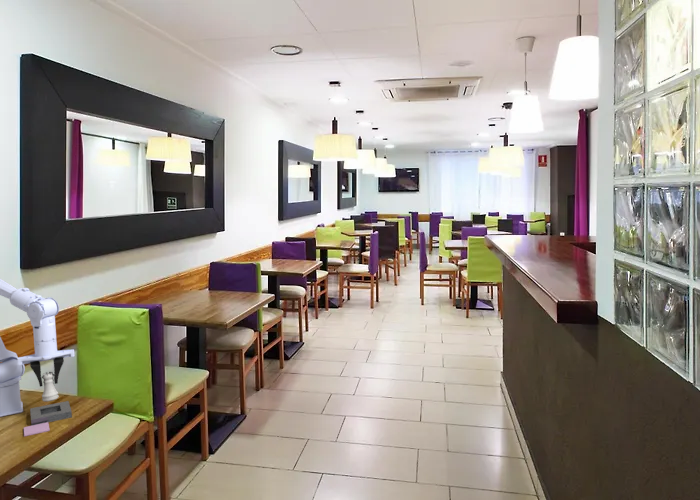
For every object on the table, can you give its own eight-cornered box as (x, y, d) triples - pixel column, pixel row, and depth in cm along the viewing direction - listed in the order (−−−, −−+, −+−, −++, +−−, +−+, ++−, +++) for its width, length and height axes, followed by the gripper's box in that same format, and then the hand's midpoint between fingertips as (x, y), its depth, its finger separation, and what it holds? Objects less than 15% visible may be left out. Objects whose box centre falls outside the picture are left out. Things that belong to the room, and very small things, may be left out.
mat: (23, 428, 144) (23, 427, 144) (48, 423, 148) (48, 422, 148) (24, 436, 140) (24, 435, 139) (49, 430, 143) (49, 429, 143)
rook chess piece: (51, 402, 150) (48, 375, 149) (38, 401, 151) (35, 375, 150) (62, 396, 154) (59, 370, 154) (50, 396, 155) (47, 370, 155)
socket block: (30, 414, 155) (30, 408, 155) (68, 406, 160) (68, 400, 160) (31, 425, 146) (31, 419, 146) (71, 417, 152) (71, 411, 152)
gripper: (16, 346, 144) (19, 393, 145) (74, 338, 152) (77, 382, 153) (16, 341, 150) (19, 386, 151) (71, 333, 158) (74, 376, 159)
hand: (48, 384), depth 152 cm, fingers closed on rook chess piece, 3 cm apart
